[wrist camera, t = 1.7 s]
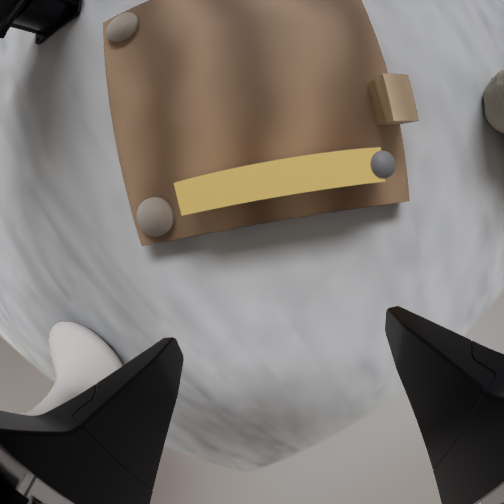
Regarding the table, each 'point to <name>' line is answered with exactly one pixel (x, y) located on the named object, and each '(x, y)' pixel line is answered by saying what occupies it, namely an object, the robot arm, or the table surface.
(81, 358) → the flower in vase
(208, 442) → the table surface
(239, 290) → the table surface
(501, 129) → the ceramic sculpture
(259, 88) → the brown flat square piece
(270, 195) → the hinged leg
